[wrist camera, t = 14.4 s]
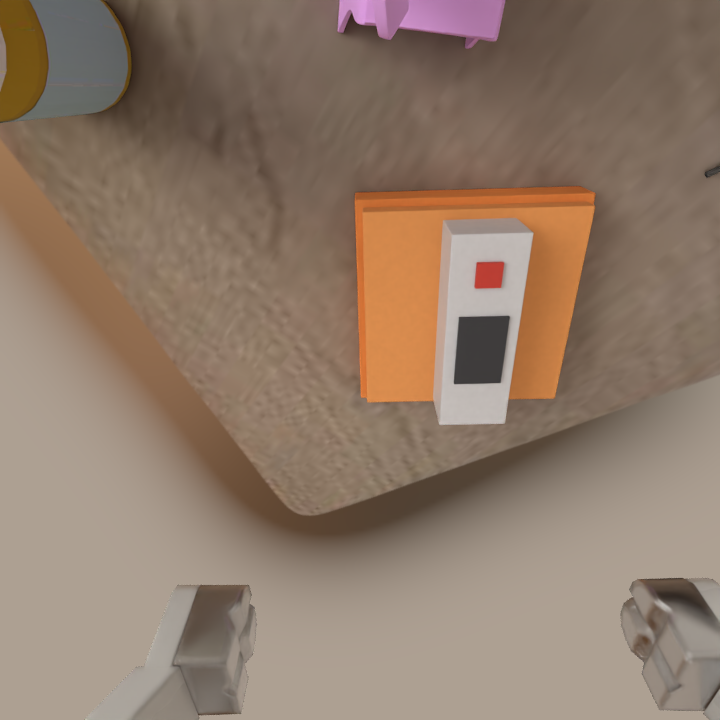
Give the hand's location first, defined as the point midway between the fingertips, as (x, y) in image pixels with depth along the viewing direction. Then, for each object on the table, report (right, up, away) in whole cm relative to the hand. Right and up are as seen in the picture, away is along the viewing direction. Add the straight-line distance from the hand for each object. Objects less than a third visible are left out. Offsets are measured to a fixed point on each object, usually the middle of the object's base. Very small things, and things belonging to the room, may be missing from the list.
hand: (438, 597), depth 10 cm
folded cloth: (+6, +10, +28) cm, 30 cm away
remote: (+6, +8, +24) cm, 26 cm away
